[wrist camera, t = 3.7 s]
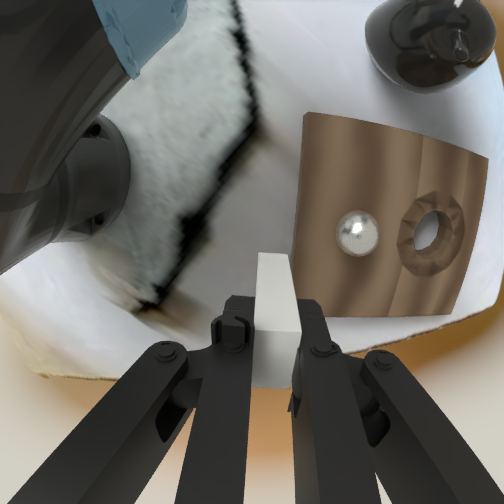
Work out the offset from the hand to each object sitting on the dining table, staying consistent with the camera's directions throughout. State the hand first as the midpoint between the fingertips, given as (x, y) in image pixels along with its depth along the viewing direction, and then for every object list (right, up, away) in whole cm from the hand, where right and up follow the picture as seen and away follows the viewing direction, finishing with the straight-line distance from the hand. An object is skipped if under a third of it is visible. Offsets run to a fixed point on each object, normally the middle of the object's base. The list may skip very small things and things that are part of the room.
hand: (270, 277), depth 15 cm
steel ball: (+8, +3, +8) cm, 12 cm away
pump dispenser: (+14, +22, +6) cm, 27 cm away
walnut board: (+14, +4, +13) cm, 20 cm away
